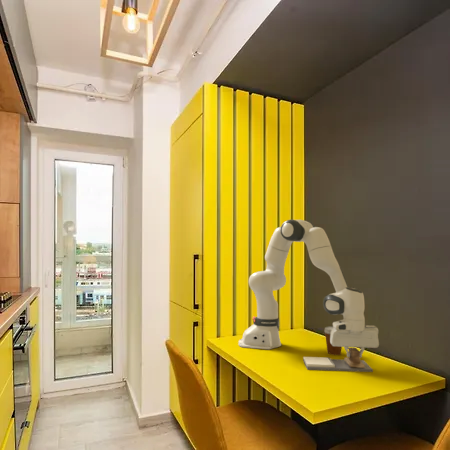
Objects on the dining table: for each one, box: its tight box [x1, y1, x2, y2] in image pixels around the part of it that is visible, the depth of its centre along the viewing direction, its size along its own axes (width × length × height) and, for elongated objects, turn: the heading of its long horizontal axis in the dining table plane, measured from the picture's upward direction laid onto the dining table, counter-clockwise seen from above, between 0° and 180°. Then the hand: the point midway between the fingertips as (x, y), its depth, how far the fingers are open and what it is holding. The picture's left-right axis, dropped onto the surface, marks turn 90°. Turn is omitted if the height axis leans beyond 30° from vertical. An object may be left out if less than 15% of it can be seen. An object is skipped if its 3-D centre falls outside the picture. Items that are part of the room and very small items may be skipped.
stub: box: [343, 347, 365, 368], centre depth 155 cm, size 6×10×6 cm, turn 176°
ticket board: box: [302, 356, 374, 373], centre depth 156 cm, size 27×12×2 cm, turn 86°
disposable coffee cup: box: [323, 326, 342, 356], centre depth 175 cm, size 10×10×12 cm
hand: (354, 357), depth 155 cm, fingers closed on stub, 3 cm apart
